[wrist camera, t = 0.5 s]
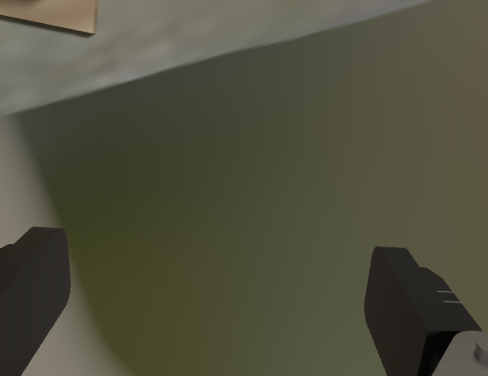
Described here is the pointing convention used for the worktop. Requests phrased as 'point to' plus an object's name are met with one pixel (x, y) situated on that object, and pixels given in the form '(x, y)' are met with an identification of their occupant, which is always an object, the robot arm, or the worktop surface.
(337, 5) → the worktop surface
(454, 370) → the robot arm
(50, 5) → the socket block
